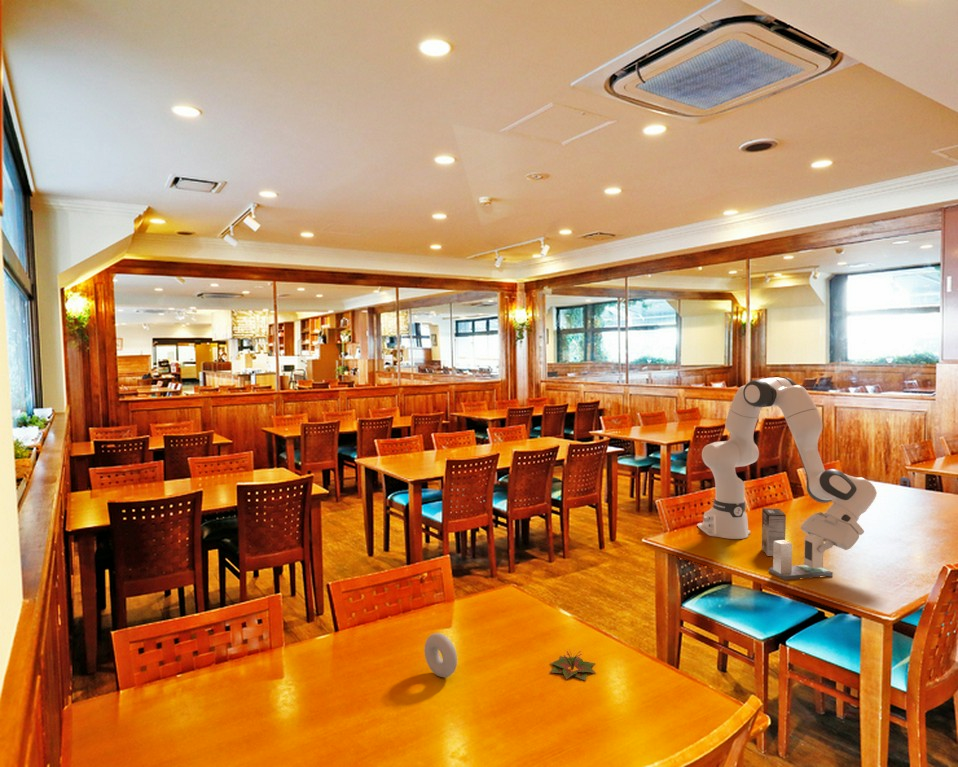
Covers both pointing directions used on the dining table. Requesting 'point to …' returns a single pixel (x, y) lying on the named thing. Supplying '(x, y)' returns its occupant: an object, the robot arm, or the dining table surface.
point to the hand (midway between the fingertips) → (813, 548)
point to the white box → (813, 551)
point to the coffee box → (772, 528)
